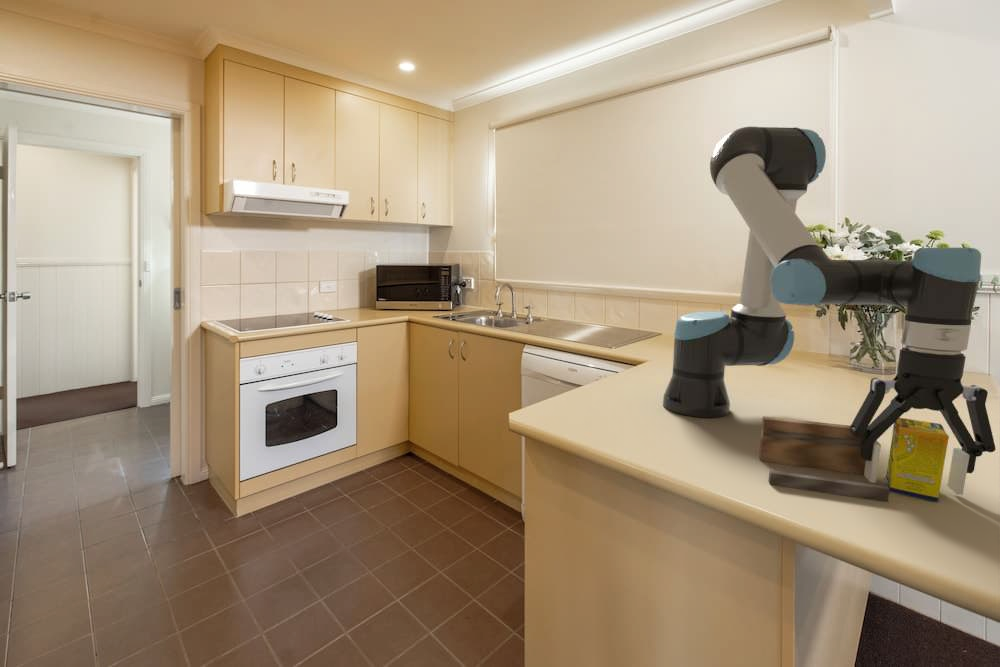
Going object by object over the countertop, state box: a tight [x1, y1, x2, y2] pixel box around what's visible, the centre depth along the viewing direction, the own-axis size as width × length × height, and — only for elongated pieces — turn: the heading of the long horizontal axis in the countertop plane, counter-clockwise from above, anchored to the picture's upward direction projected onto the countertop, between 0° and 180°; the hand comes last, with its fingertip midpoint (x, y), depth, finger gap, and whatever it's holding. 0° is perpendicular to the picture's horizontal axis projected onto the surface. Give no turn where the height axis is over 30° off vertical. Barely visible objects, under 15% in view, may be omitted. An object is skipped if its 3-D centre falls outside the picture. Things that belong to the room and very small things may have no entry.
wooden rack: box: [758, 416, 890, 503], centre depth 80 cm, size 16×11×8 cm
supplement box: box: [885, 417, 950, 503], centre depth 76 cm, size 6×6×11 cm
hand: (911, 484), depth 77 cm, fingers open, 10 cm apart
